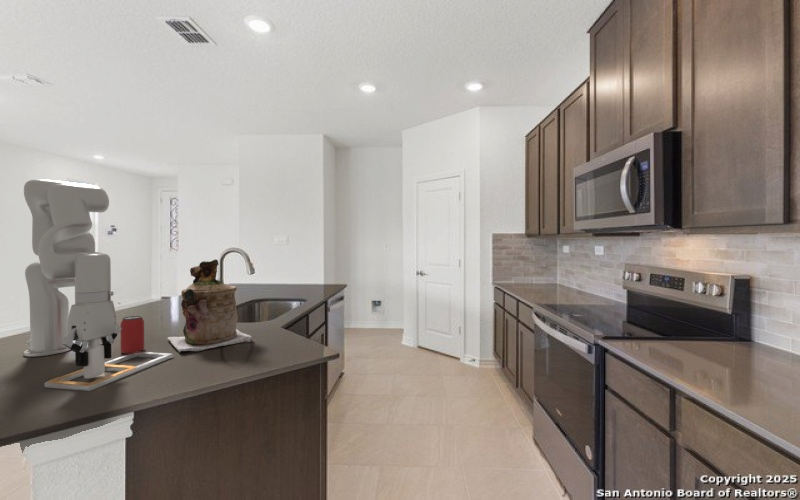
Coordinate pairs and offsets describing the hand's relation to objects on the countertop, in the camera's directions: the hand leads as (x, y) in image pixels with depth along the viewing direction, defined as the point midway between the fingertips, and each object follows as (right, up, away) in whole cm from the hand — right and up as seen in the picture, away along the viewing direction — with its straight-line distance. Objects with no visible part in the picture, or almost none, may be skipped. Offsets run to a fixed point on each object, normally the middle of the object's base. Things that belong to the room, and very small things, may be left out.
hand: (94, 361), depth 96 cm
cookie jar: (+12, -5, +37) cm, 39 cm away
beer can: (-8, -5, +24) cm, 26 cm away
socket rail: (+1, -5, +6) cm, 8 cm away
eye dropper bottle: (0, -4, 0) cm, 4 cm away
